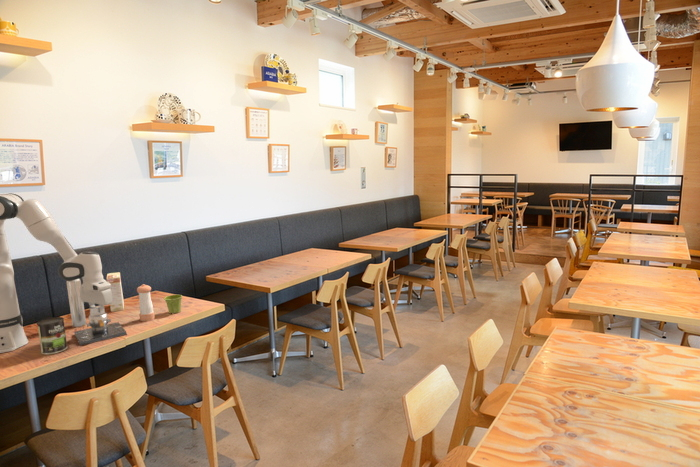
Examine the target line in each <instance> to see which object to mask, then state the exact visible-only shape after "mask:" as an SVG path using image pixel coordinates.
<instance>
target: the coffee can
mask: <svg viewBox="0 0 700 467" xmlns="http://www.w3.org/2000/svg"><path fill="white" fill-rule="evenodd" d="M64 319H65V318H64V317H61V316H56V317H54V316H53V317H47V318H43V319H41V320H38V321H37V322H36V325H37V331H38V339H39V344H40V353H41V354H42V355H45V356H46V355H54V354H59V353H62V352H64V351H66V350H67V349H68V341H67V337H66V329H65V328H66V327H65V320H64Z"/></svg>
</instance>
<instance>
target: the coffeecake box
mask: <svg viewBox="0 0 700 467" xmlns="http://www.w3.org/2000/svg"><path fill="white" fill-rule="evenodd" d="M121 279H122V278H121V272H119V271H118V272H110V273H107V275H106V281H107V282H109V283H110V284H111V288H110V289H111V292H112V303H111V304H109V307H110V312H112V313H113V312H118V311H124V310H125V308H124V307H125V302H124V301H125V300H124V295H123V287H122V280H121Z"/></svg>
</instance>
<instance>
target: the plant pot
mask: <svg viewBox="0 0 700 467" xmlns="http://www.w3.org/2000/svg"><path fill="white" fill-rule="evenodd" d="M182 298H183V295H182V294H172V295H166V296H165V297H164V298H163V299H164V300H165V303H166V305H167V306H166V307H167V310H168V313H169V314H171V313H174V314H177V313H178V312H179V313H180V312H181V310H182V308H181V307H182Z"/></svg>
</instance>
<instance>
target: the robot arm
mask: <svg viewBox="0 0 700 467" xmlns="http://www.w3.org/2000/svg"><path fill="white" fill-rule="evenodd" d="M51 215H52V214H50V212H49V211H48V210H47V209H46V207H45V206H44V205H43V204H42V203H41V202H40V201H39V200H38V199H33V198H31V199H25V200H24V198H22V196H20V195H18V194H16V193H1V194H0V354H2V353H8V352H13V351H15V350H17V349H18V348H20V347H23V346H25V345H27V344H28V343H29V339H28V337H27V335H26V333H25V330H24V327H23V324H24V323H23V322H24V321H23V316H22V314H21V311H20V306H19V300H18V294H17V290H16V283H15V272H14V267H13V262H12V258H11V253H10V251H9V250H10V249H9V246H8V240H7V237H6V230H5V225H4V224H5V223H4V222H5V221H6V220H10V219H15V218H17V219H19V220H20V221H21V222H22V223H23V224H24V226H25V227H26V229H27V230H28V232H29V234H30V235H32V237H33V238H34V239H36V240H38V241H40V242H44V243H47V244H48V245H51V246H52V247H53V248H54V249H55V250H56V251H57V254H59V255H60V257H61V258H62V260H63V263H61V264H60V265H59V266H58V268H57V274H58V276H59V277H60V278H61V279H62V280H64V281H66V282H67V281H73V280H76V279H82V282H81V288H80V299H81V301H82V302H84V303H88V305H89V308H90V307H95V306H96V305H98V306H100V307H99V309H98V311H99V313H102V312H104V309H105V306H108V305H109V306H110V304H111V303H112V292H111V289H110V288H111V284H110V283H109V282H107V279H104V275H103V271H102V270H103V265H102V261H101V256H100V254H99V253H98V252H96V251H94V250H93V251H92V250H91V251H90V250H87V251H86V250H85V251H81V252H80V253H78V252H76V250H75V249H74V248H73V247H72V245H71V243H70V242H69V241H68V240H67V238H66V237H65V236H64V234H63V233H62V231H61V230H60V228H59V226H58V225H57V223H56V221H55V220H54V217H52V216H51ZM103 308H104V309H103Z"/></svg>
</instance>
